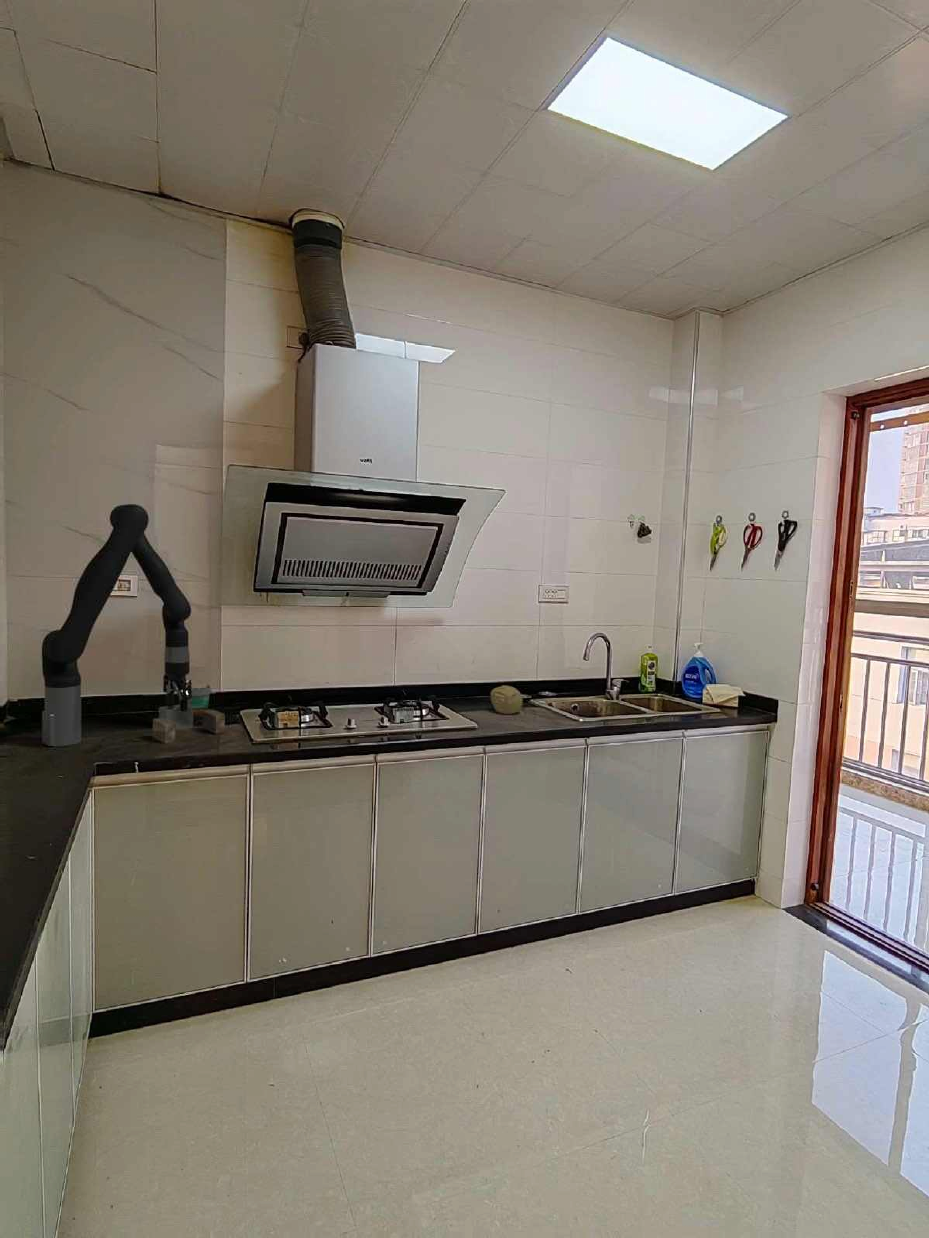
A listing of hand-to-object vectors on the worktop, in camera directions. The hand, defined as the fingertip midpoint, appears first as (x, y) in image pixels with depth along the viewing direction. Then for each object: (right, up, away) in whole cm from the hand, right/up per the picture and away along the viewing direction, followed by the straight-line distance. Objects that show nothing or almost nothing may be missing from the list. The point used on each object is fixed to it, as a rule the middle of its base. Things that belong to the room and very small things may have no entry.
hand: (177, 708), depth 228 cm
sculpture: (+111, -8, +46) cm, 120 cm away
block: (-1, -6, 0) cm, 6 cm away
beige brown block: (+2, -8, -15) cm, 17 cm away
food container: (0, -5, +17) cm, 17 cm away
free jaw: (+13, -7, -3) cm, 15 cm away
